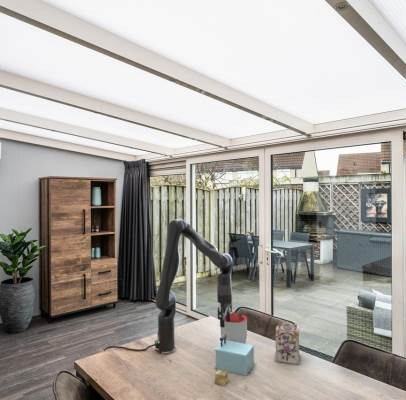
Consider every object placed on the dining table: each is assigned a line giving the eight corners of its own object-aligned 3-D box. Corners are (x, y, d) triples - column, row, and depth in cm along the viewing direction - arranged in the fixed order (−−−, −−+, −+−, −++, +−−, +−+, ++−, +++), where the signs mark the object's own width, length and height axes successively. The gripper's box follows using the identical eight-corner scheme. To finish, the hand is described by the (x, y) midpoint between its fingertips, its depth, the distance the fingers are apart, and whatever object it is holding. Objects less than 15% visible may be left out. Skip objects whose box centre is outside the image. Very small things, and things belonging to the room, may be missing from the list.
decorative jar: (299, 355, 177) (298, 321, 178) (299, 365, 166) (298, 329, 167) (276, 352, 181) (276, 319, 182) (275, 361, 170) (274, 326, 171)
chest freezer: (216, 368, 164) (215, 350, 164) (225, 358, 175) (225, 341, 176) (246, 375, 157) (245, 357, 157) (253, 364, 168) (253, 347, 168)
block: (215, 383, 151) (214, 373, 151) (218, 378, 155) (218, 369, 155) (224, 385, 148) (224, 375, 149) (227, 380, 152) (227, 371, 152)
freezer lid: (214, 350, 165) (214, 339, 165) (223, 341, 176) (223, 331, 176) (245, 357, 157) (245, 345, 157) (253, 346, 168) (253, 336, 168)
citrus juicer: (252, 343, 193) (252, 309, 193) (241, 355, 178) (240, 318, 179) (228, 338, 201) (228, 305, 202) (215, 348, 187) (215, 313, 187)
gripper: (222, 288, 178) (223, 319, 177) (212, 295, 165) (213, 327, 165) (236, 290, 174) (236, 321, 174) (226, 297, 161) (227, 330, 161)
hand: (225, 324), depth 169 cm, fingers open, 8 cm apart
